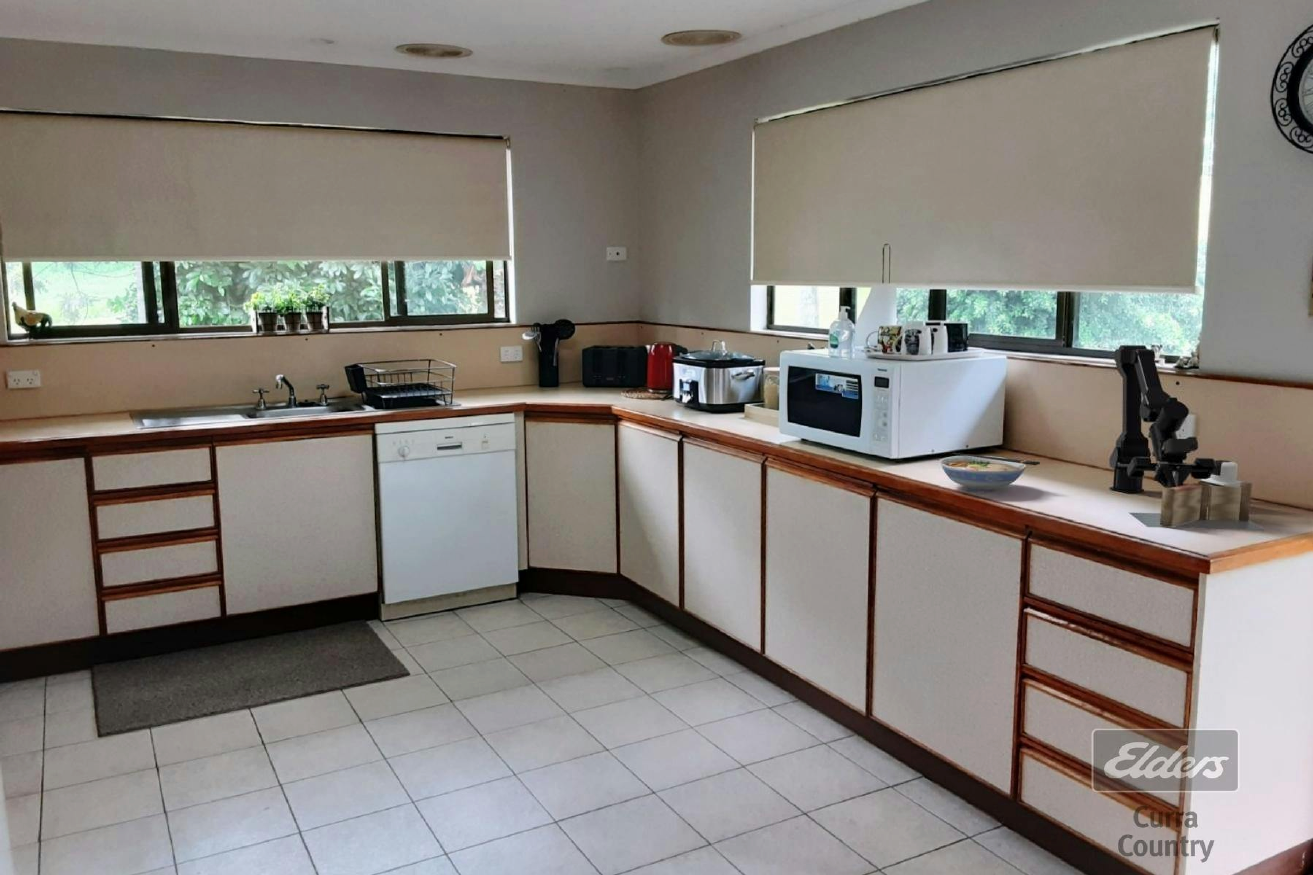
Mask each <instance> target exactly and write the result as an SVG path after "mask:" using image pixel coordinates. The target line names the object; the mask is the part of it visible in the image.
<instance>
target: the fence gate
mask: <svg viewBox="0 0 1313 875" xmlns="http://www.w3.org/2000/svg"><path fill="white" fill-rule="evenodd" d="M1202 488H1203V485H1202V484H1198V482H1196V483H1191V484H1183V486H1178V487H1173V488H1165V487H1162V493H1161V494H1162V495H1161V507H1160V508H1161V509H1160V513H1161V518H1160V525H1163V526H1171V525H1173V524H1178V523H1182V522H1187V521H1192V520H1197V519H1199V516H1200V504H1201V492H1202Z"/></svg>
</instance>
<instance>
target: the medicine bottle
mask: <svg viewBox="0 0 1313 875" xmlns="http://www.w3.org/2000/svg"><path fill="white" fill-rule="evenodd" d="M1215 462H1216V466H1217V467H1216V469H1215V470H1214V472H1213V473H1212V475H1211V476H1210V478H1208V479H1200V481H1204V482H1209V489H1210V486H1231V487H1240V483H1241V482H1243V481H1242V480H1237V479H1238V471H1239V470H1238V469H1239V465H1238V463H1236V462H1234V461H1232V460H1224V459H1223V460H1221V459H1217V460H1215ZM1208 501H1209V494H1208ZM1207 508H1208V505H1207Z"/></svg>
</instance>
